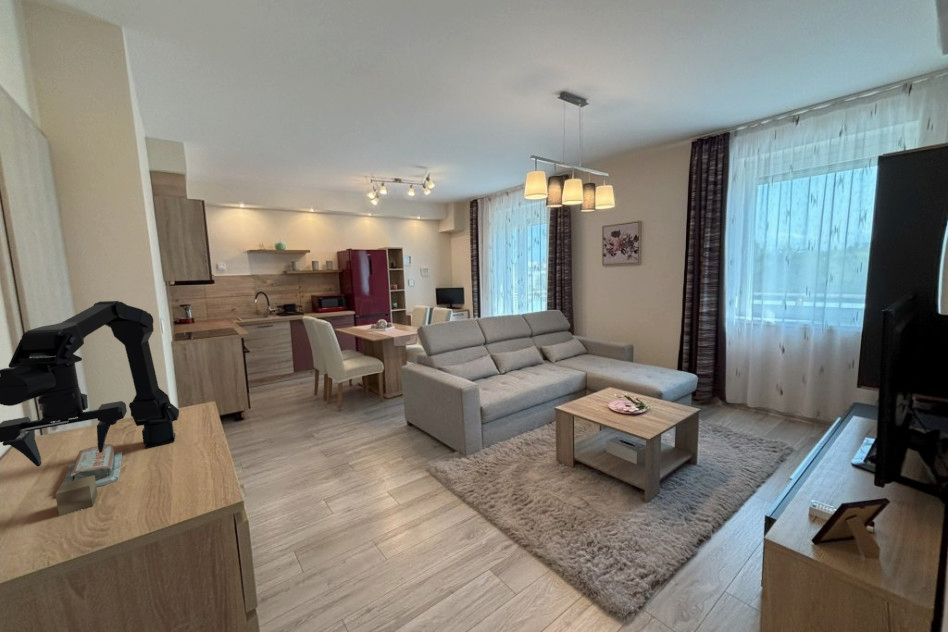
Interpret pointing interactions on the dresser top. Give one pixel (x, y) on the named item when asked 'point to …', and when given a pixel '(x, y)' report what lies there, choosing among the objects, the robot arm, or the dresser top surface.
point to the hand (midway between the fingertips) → (71, 458)
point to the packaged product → (96, 465)
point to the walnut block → (76, 495)
